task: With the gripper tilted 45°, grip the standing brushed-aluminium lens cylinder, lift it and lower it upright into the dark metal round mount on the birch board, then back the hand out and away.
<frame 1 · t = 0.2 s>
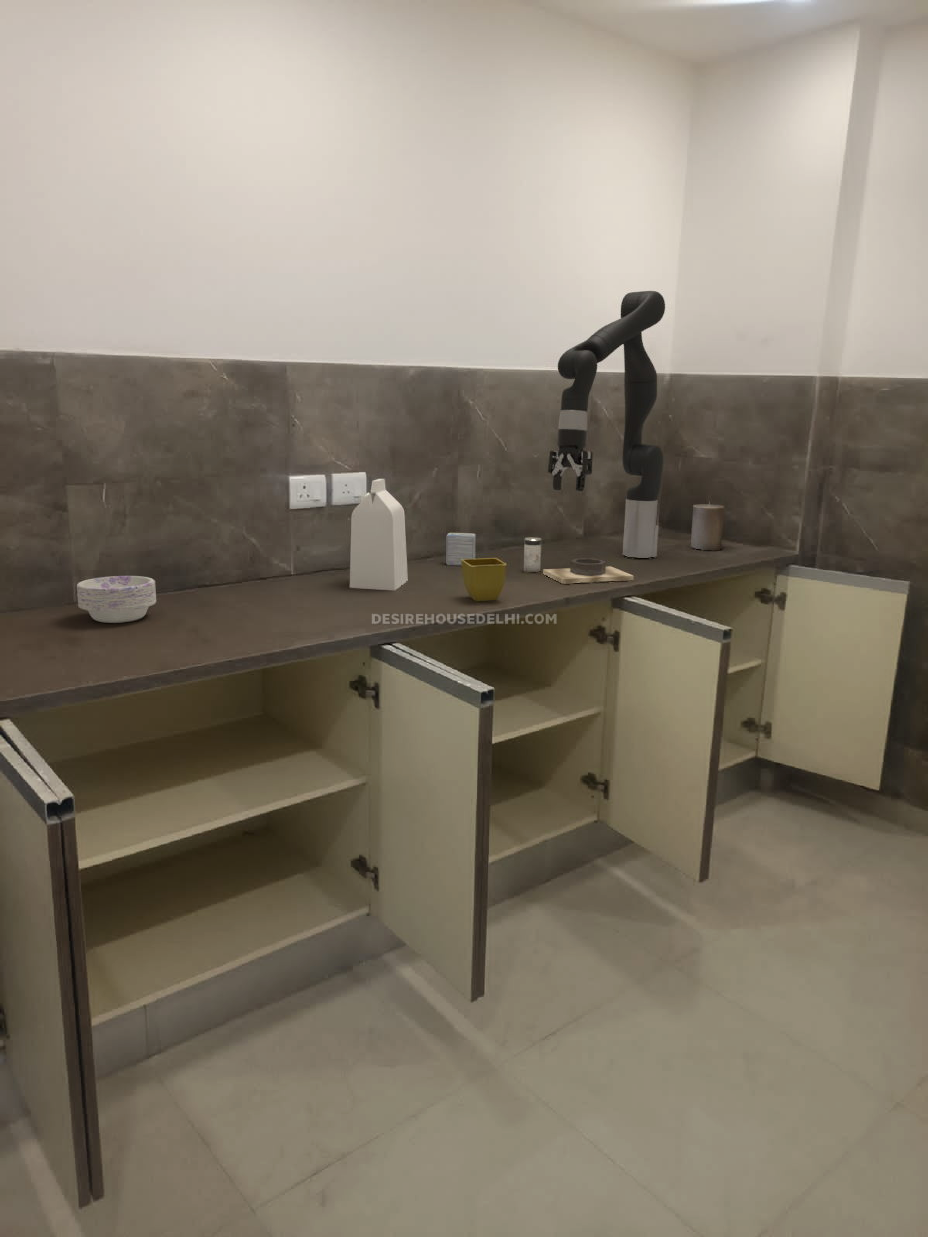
hand: (568, 490, 236), 22 cm above the counter, tool pointing down, fingers open, 8 cm apart
milk: (379, 584, 222), on the counter
pillar candle: (705, 549, 283), on the counter
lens: (531, 571, 241), on the counter
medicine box: (460, 565, 249), on the counter
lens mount: (587, 578, 233), on the counter
flower pot: (482, 600, 207), on the counter
paper bowls: (119, 619, 184), on the counter
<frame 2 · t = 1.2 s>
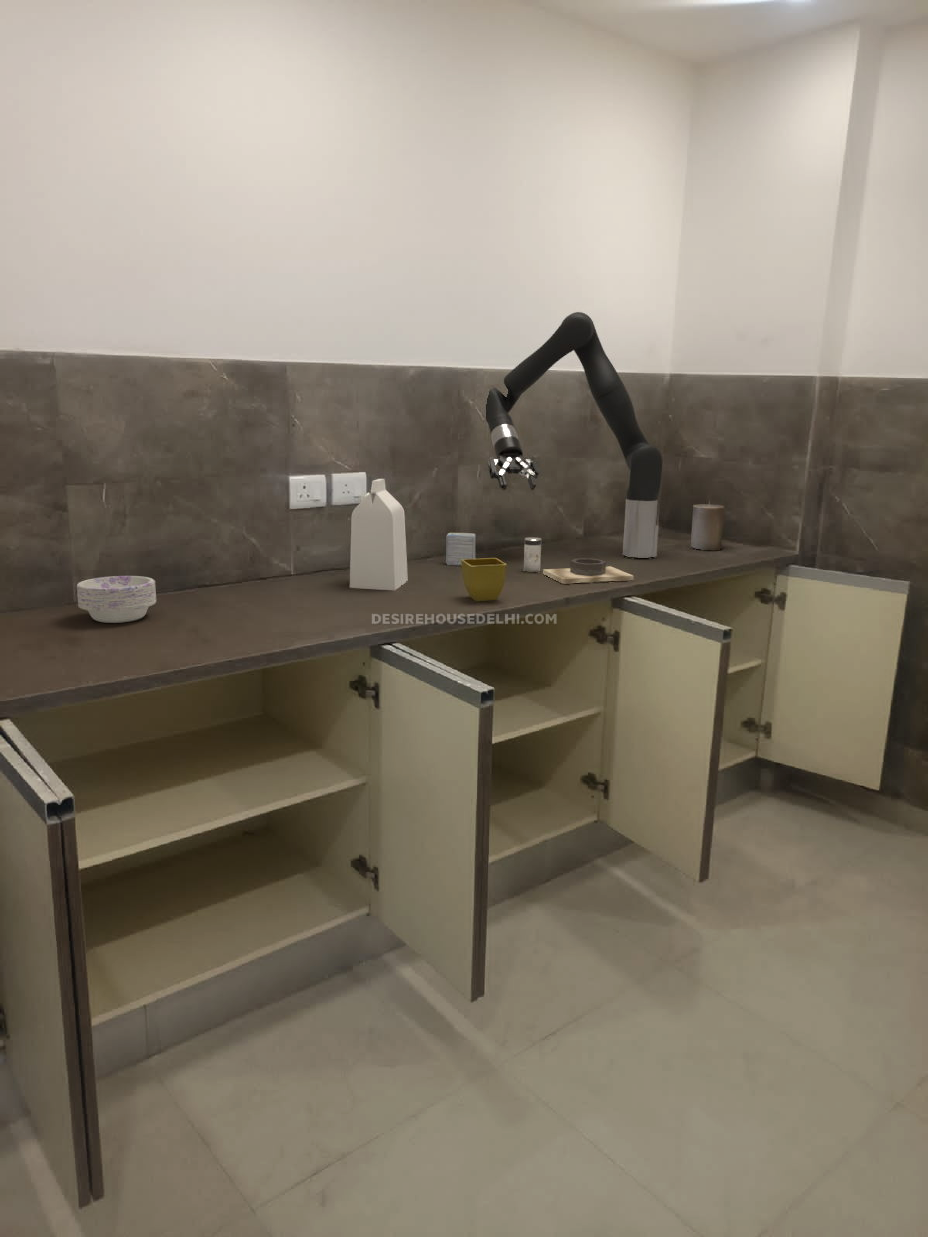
hand: (519, 488, 246), 21 cm above the counter, tool tilted 45°, fingers open, 8 cm apart
nothing on the counter moved.
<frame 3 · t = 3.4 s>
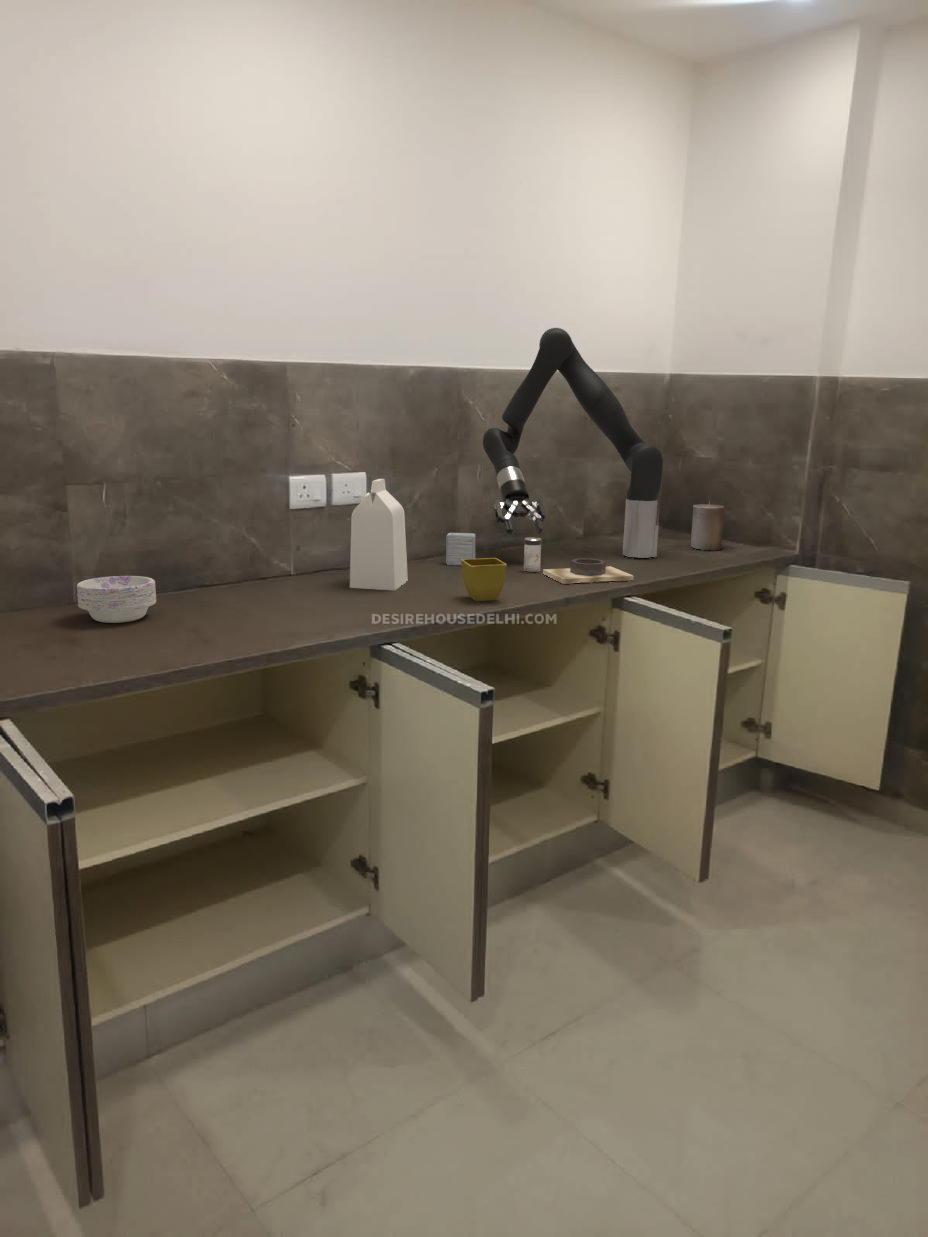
hand: (525, 532, 243), 10 cm above the counter, tool tilted 45°, fingers open, 8 cm apart
nothing on the counter moved.
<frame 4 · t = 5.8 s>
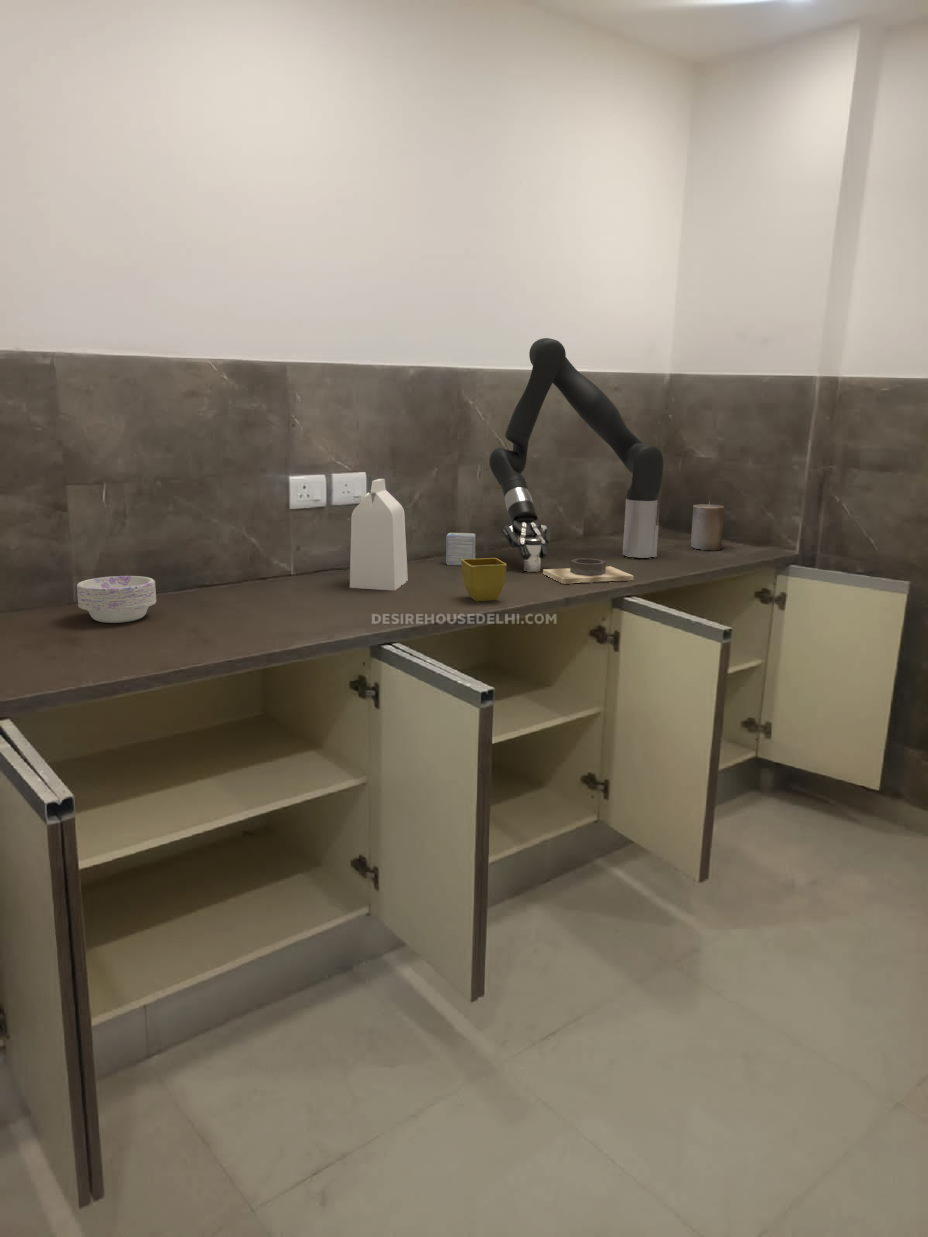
hand: (535, 557, 238), 4 cm above the counter, tool tilted 45°, fingers closed on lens, 4 cm apart
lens: (532, 571, 241), on the counter, touching gripper
everything else where it was.
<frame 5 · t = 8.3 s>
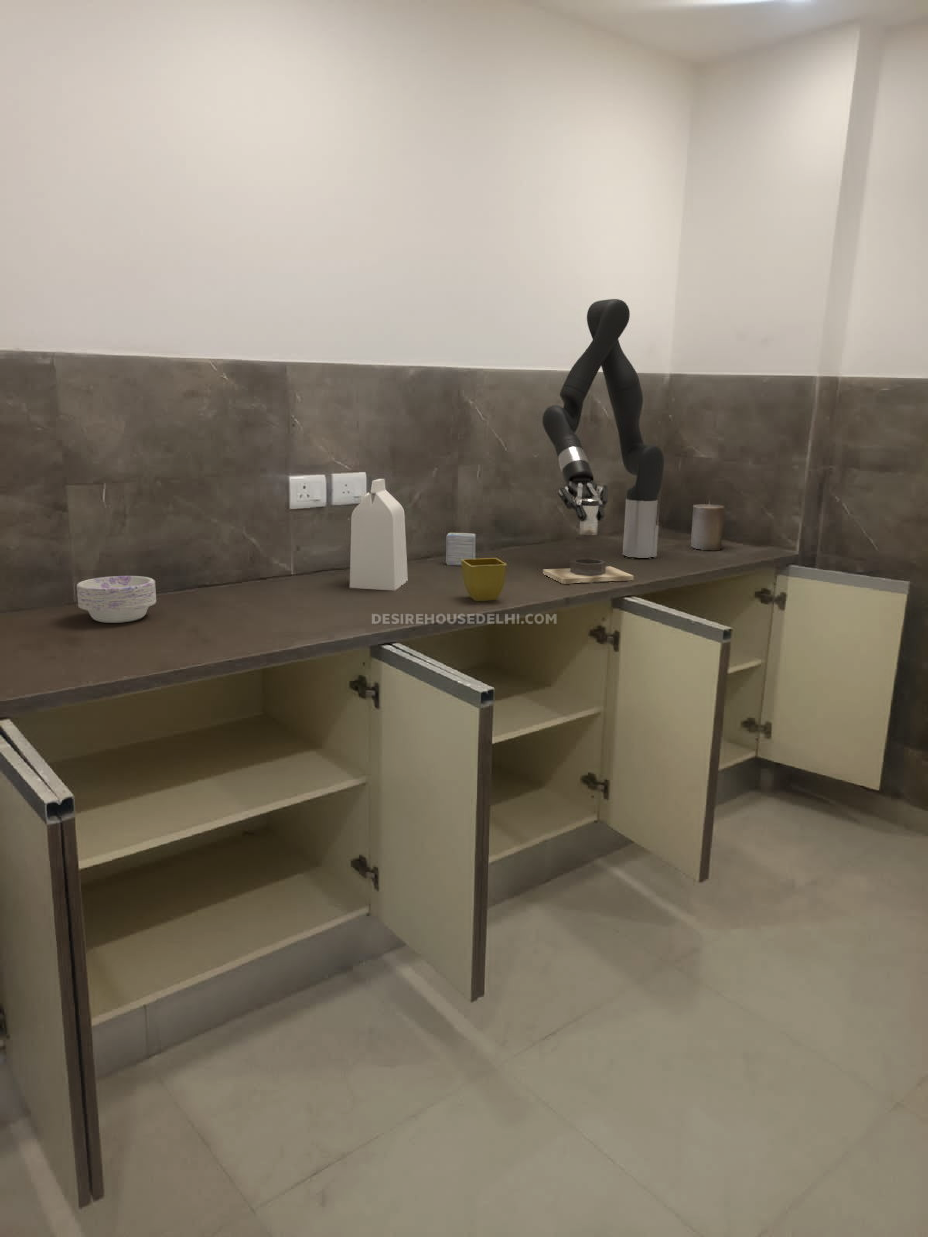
hand: (592, 519, 228), 16 cm above the counter, tool tilted 45°, fingers closed on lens, 4 cm apart
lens: (588, 533, 231), point 12 cm above the counter, touching gripper
everything else where it was.
when the fingers open (7 cm above the counter, at t = 10.9 s): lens drops 1 cm, resting on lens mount.
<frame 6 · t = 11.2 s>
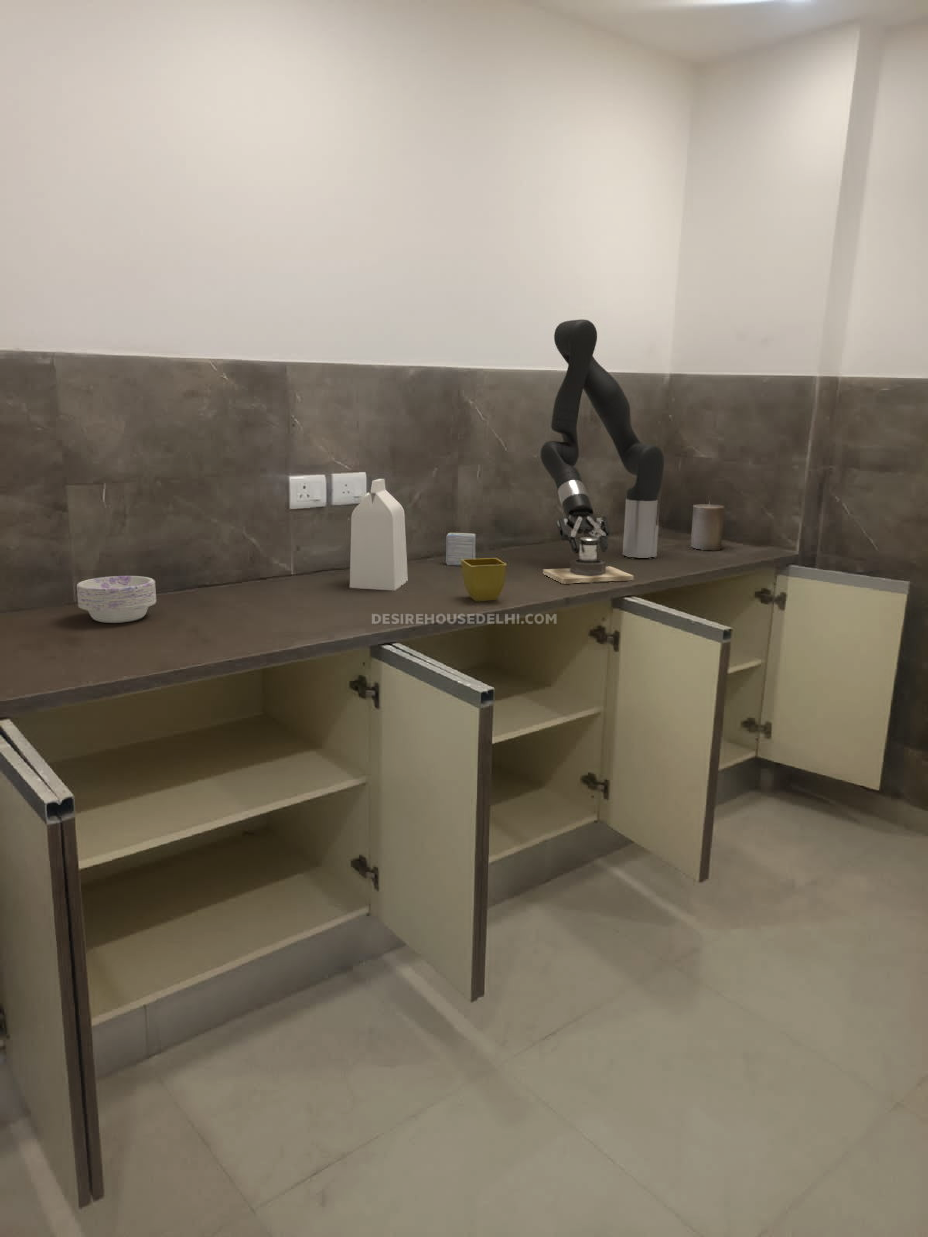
hand: (591, 550, 230), 8 cm above the counter, tool tilted 45°, fingers open, 7 cm apart
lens: (587, 572, 233), point 2 cm above the counter, touching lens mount
everything else where it was.
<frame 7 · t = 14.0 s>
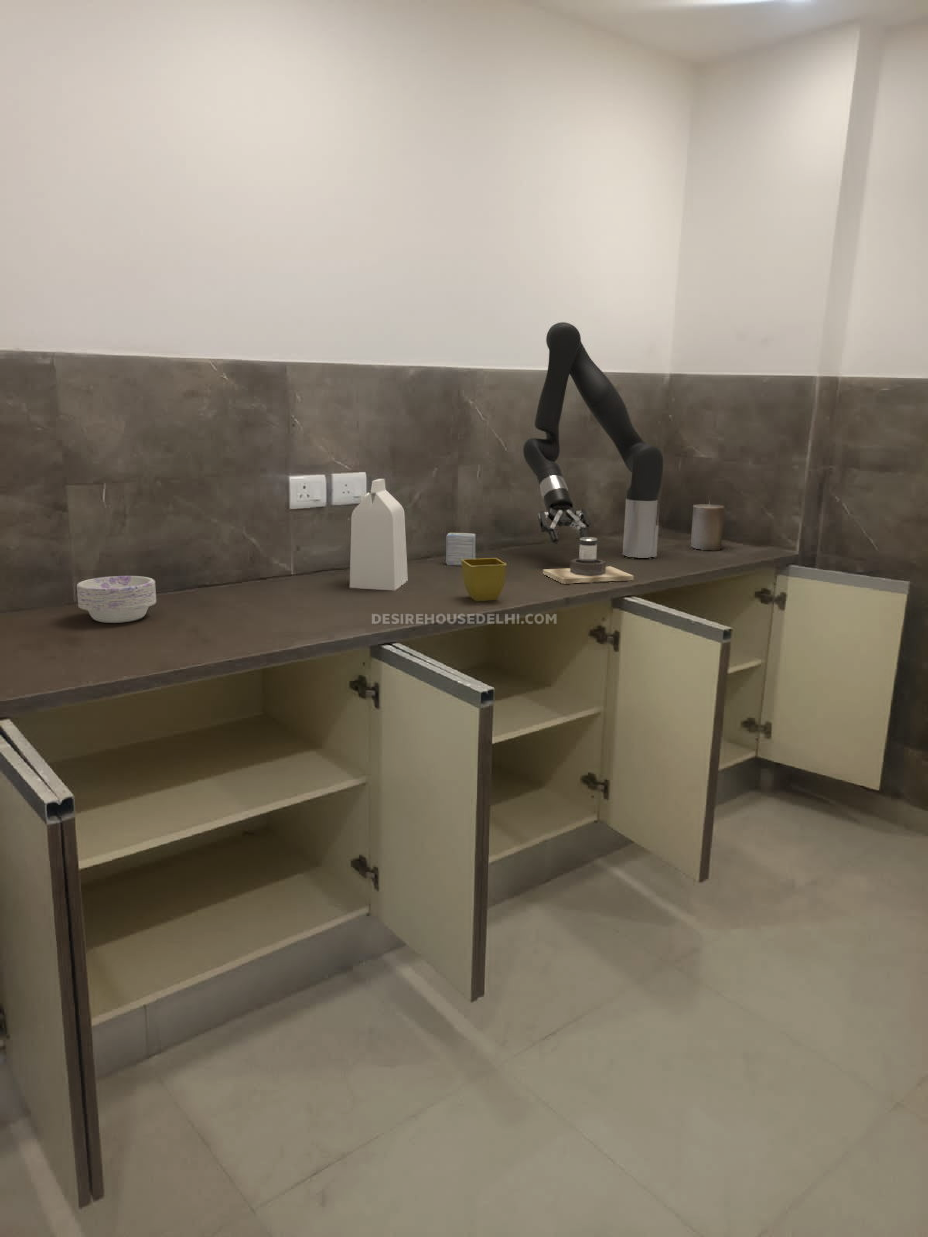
hand: (570, 541, 242), 8 cm above the counter, tool tilted 45°, fingers open, 8 cm apart
nothing on the counter moved.
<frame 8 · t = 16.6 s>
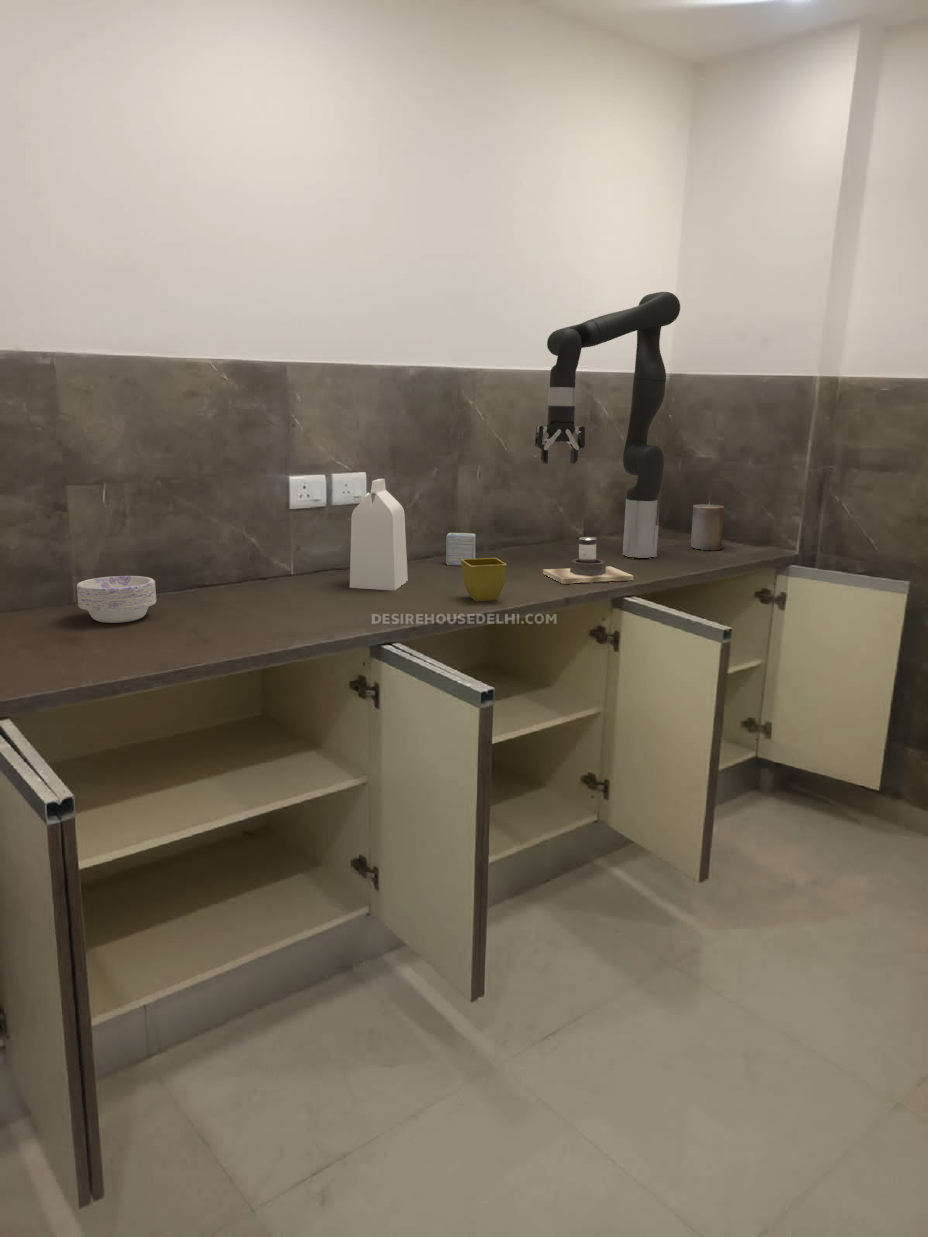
hand: (559, 463, 249), 28 cm above the counter, tool pointing down, fingers open, 8 cm apart
nothing on the counter moved.
at the end: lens 0.2 cm off-centre on the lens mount, point 1.6 cm above the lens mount's base; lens tilted 2°; the gripper is holding nothing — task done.
